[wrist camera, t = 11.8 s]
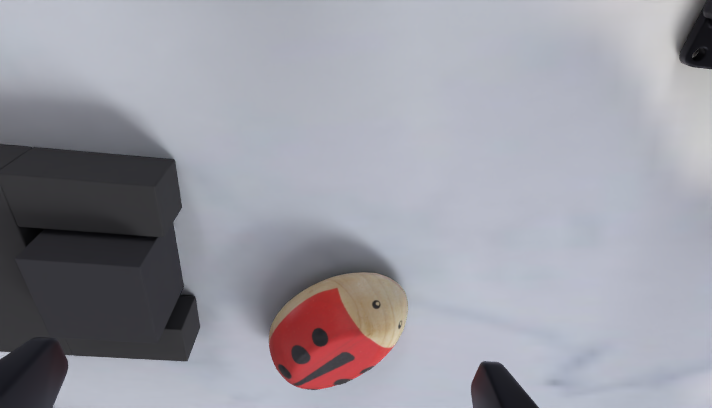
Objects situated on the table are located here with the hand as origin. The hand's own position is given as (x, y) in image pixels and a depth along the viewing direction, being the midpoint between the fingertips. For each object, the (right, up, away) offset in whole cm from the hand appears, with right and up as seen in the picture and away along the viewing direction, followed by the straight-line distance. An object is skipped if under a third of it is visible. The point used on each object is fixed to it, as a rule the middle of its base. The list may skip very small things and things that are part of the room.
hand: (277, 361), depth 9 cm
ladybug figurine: (+1, -3, +17) cm, 17 cm away
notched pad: (-13, +1, +13) cm, 19 cm away
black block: (-11, +1, +14) cm, 17 cm away
